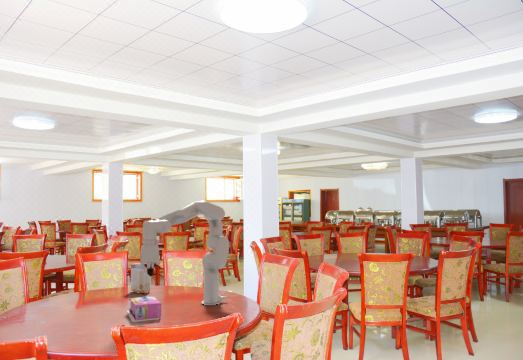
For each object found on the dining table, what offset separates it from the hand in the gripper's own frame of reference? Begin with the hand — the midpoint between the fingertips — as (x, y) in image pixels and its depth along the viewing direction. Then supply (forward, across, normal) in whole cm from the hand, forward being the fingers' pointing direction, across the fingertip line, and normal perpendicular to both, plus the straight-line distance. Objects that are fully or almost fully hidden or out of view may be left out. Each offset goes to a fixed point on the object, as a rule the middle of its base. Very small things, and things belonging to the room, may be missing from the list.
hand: (150, 275), depth 236 cm
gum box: (+17, -4, +1) cm, 18 cm away
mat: (+22, +4, 0) cm, 22 cm away
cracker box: (+22, -4, -71) cm, 74 cm away
